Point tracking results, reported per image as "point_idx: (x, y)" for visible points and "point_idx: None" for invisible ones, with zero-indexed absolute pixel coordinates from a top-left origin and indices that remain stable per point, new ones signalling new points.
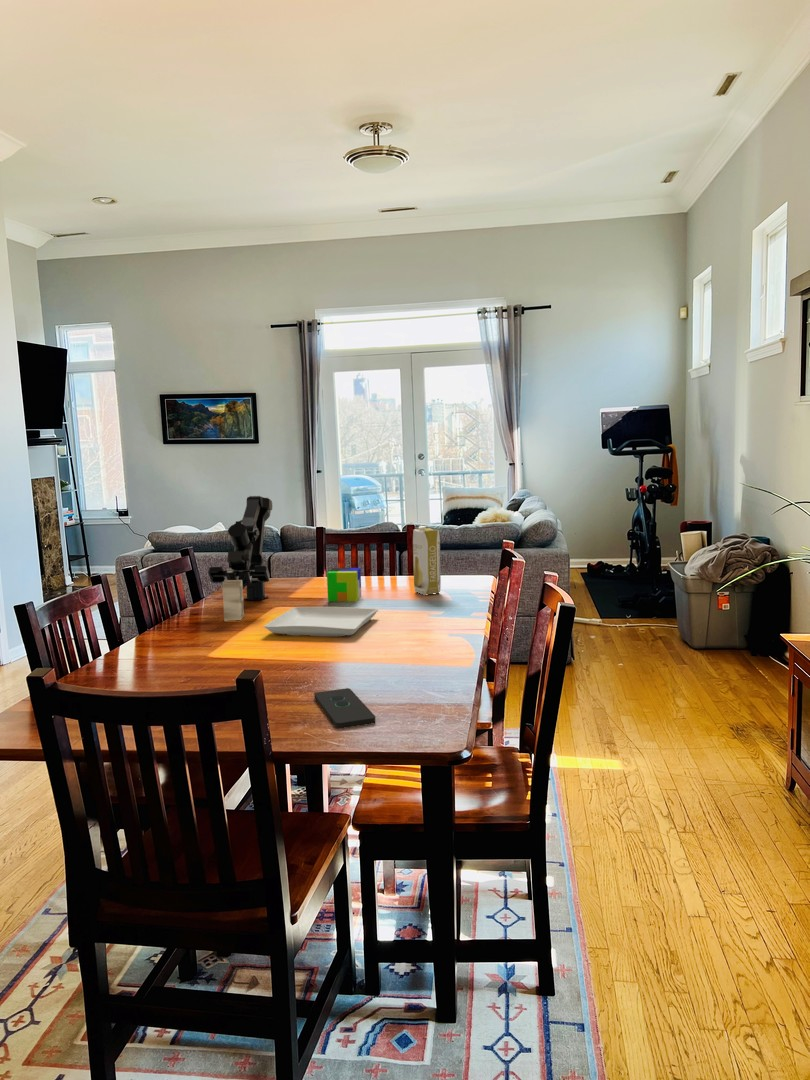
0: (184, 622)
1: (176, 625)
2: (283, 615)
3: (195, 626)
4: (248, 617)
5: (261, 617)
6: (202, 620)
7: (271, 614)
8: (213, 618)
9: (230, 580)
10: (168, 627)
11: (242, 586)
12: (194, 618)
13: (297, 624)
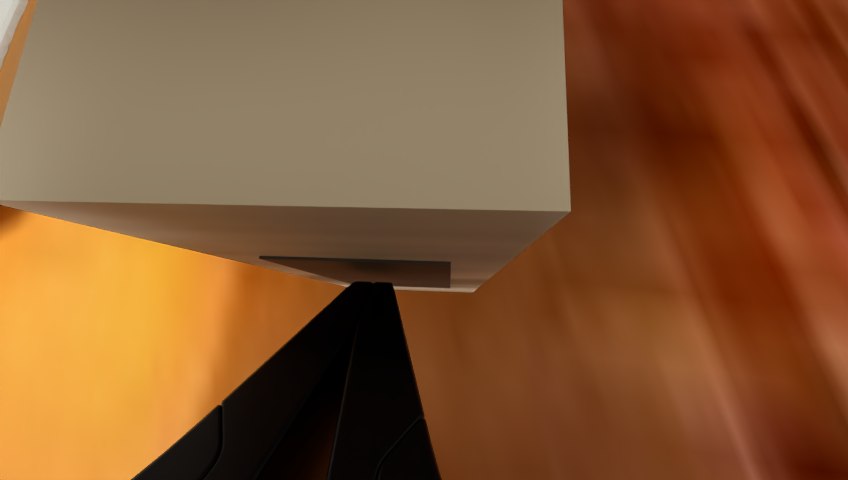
0: (776, 169)
1: (795, 85)
2: (18, 4)
3: (637, 51)
4: (319, 283)
5: (225, 272)
6: (654, 221)
7: (157, 367)
8: (587, 280)
9: (385, 136)
10: (827, 35)
11: (166, 240)
12: (754, 298)
13: (4, 12)
